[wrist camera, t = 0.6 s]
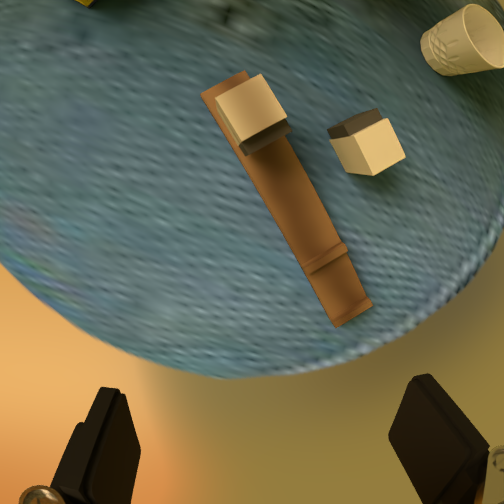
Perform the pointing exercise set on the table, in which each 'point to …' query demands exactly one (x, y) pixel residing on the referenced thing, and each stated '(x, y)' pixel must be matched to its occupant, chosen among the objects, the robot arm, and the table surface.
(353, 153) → the cream brown block
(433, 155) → the table surface
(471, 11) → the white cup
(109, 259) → the table surface
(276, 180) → the rail
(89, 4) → the supplement box
